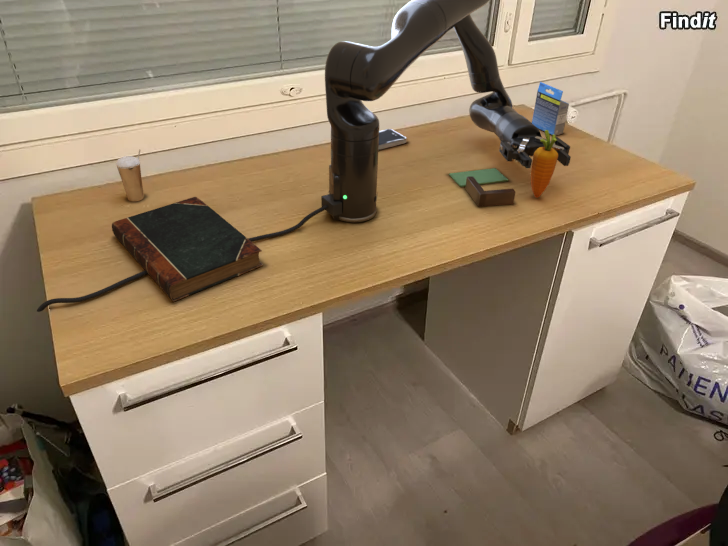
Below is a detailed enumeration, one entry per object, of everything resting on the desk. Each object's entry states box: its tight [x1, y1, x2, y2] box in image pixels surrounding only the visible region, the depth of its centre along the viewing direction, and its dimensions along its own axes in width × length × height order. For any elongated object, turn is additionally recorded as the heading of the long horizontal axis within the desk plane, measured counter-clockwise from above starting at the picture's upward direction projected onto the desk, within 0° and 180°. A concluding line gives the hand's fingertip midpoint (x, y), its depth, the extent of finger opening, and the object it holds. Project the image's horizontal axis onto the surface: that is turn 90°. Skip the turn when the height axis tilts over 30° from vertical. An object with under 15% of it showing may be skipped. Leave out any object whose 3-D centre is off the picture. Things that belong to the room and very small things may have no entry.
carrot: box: [530, 130, 558, 199], centre depth 124 cm, size 5×5×15 cm
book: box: [111, 196, 264, 302], centre depth 106 cm, size 17×4×25 cm
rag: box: [448, 167, 509, 188], centre depth 135 cm, size 12×6×1 cm, turn 107°
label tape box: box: [531, 81, 570, 136], centre depth 158 cm, size 9×4×12 cm, turn 30°
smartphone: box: [378, 128, 407, 151], centre depth 150 cm, size 8×1×15 cm
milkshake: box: [115, 149, 145, 202], centre depth 121 cm, size 4×5×10 cm
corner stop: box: [464, 176, 517, 208], centre depth 127 cm, size 8×8×3 cm
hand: (549, 163), depth 122 cm, fingers open, 8 cm apart
